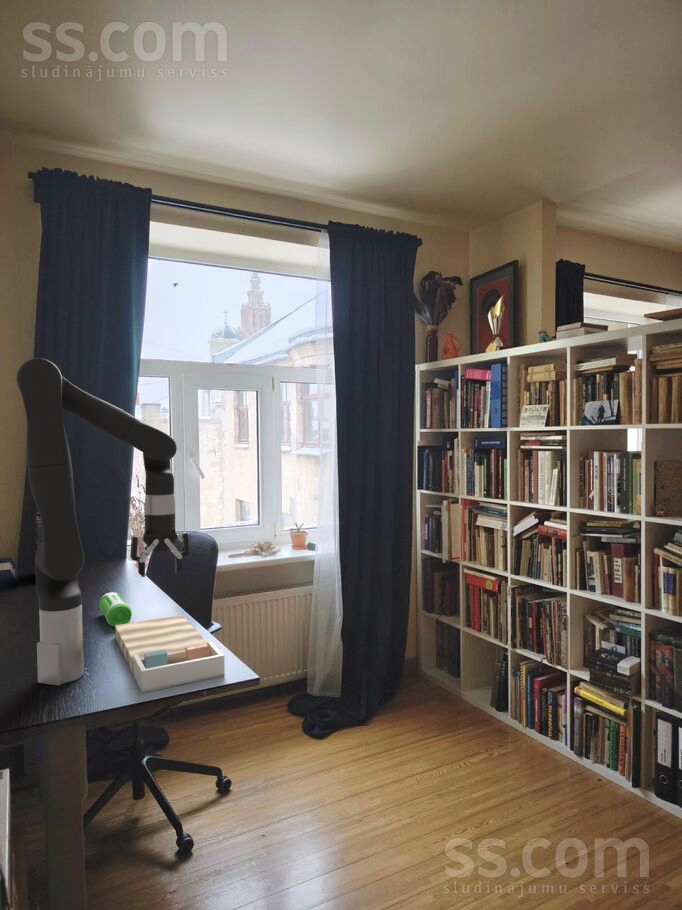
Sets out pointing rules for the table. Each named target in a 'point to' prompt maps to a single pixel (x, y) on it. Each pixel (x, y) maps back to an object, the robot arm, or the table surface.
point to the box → (179, 671)
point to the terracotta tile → (196, 651)
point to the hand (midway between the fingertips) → (160, 574)
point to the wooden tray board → (157, 638)
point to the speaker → (115, 609)
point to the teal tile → (155, 659)
